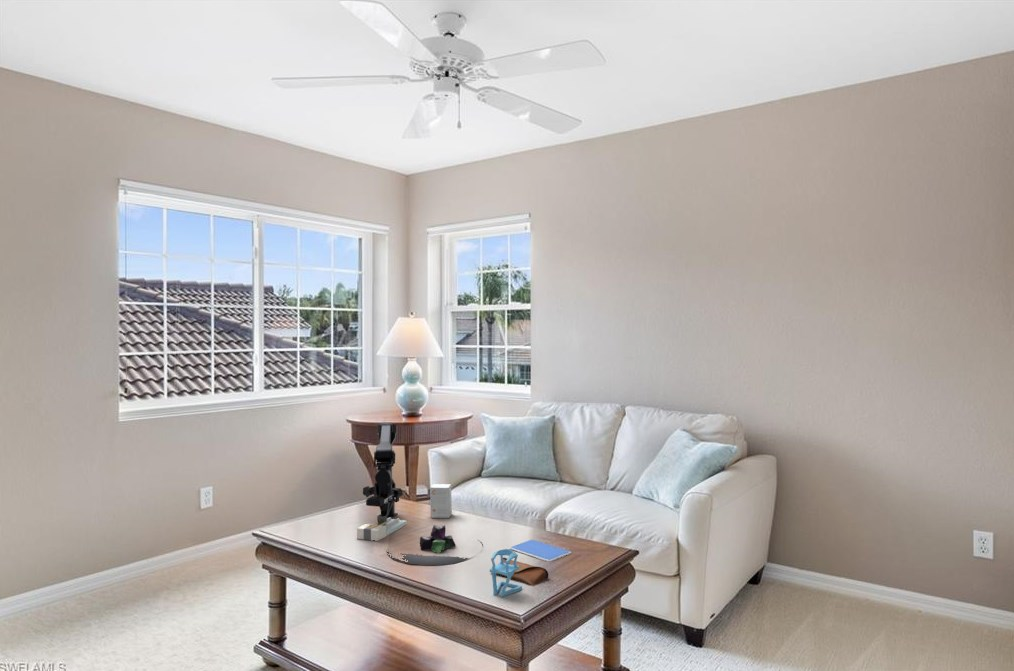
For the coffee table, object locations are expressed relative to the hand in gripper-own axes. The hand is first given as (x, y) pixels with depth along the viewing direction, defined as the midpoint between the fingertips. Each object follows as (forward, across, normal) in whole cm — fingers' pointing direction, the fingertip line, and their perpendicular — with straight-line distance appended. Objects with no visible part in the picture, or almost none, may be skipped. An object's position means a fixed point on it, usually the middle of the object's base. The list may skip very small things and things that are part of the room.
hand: (385, 518), depth 251 cm
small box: (+5, -24, +13) cm, 28 cm away
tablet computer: (+6, +5, +66) cm, 66 cm away
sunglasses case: (+5, +29, +66) cm, 72 cm away
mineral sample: (+6, +14, +29) cm, 32 cm away
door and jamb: (+5, +2, 0) cm, 5 cm away
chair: (+5, +42, +66) cm, 78 cm away
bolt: (+3, +6, 0) cm, 7 cm away
